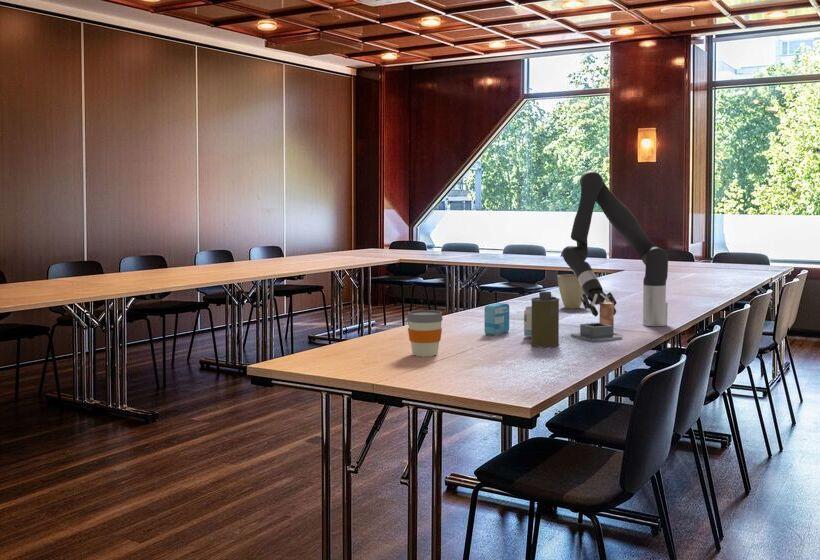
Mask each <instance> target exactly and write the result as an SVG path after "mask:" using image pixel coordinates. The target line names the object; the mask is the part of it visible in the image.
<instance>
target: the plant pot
mask: <svg viewBox="0 0 820 560" xmlns="http://www.w3.org/2000/svg"><path fill="white" fill-rule="evenodd" d="M557 284H558V290H559V295H560V297H561V302H562V304H563V306H564V308H565V309H580V307H581V305H582V304H583V303H582V300H581V297H582V295H583V294H585V293H584V291H583V289H582V287H581V285H580V283H579V280H578V278H577V276H576V274H572V273H571V274H558V275H557Z"/></svg>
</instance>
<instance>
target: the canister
mask: <svg viewBox="0 0 820 560" xmlns="http://www.w3.org/2000/svg"><path fill="white" fill-rule="evenodd" d="M538 294H539V296H538V297H532V298H530V301H531V307H532V339H531V343H530V345H531V346H532V347H536V348H537V347H538V348H556V347H558V346H560V341H559V338H560V335H559V333H560V332H559V329H560V325H559V324H560V323H559V322H560V319H559V318H560V317H559V316H560V306H559V305H560V298H559V297H556V296H553V295H552V292H551V291H540V292H538Z"/></svg>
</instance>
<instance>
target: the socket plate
mask: <svg viewBox="0 0 820 560" xmlns="http://www.w3.org/2000/svg"><path fill="white" fill-rule="evenodd" d="M570 336H571V337H572V336H573V338H576V339H579V338H580V340H584V341H587V342H591V343H594V342H603V341H616V340H623V336H621V335H617V334H614V333H613V326H611V325H607V324H603V323H600V322H592V323H581V324H579V332H577V333H576V332H575V333H571V335H570Z"/></svg>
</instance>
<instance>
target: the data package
mask: <svg viewBox="0 0 820 560" xmlns="http://www.w3.org/2000/svg"><path fill="white" fill-rule="evenodd" d="M509 331H510V305H509V303H505V302H504V303H503V302H497V303H490V304H486V305H485V306H484V334H485V335H486V336H487V335H488V336H499V335H503V334H506V333H509Z"/></svg>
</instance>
